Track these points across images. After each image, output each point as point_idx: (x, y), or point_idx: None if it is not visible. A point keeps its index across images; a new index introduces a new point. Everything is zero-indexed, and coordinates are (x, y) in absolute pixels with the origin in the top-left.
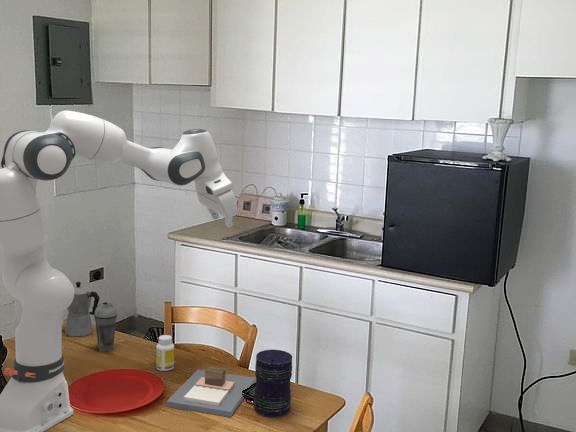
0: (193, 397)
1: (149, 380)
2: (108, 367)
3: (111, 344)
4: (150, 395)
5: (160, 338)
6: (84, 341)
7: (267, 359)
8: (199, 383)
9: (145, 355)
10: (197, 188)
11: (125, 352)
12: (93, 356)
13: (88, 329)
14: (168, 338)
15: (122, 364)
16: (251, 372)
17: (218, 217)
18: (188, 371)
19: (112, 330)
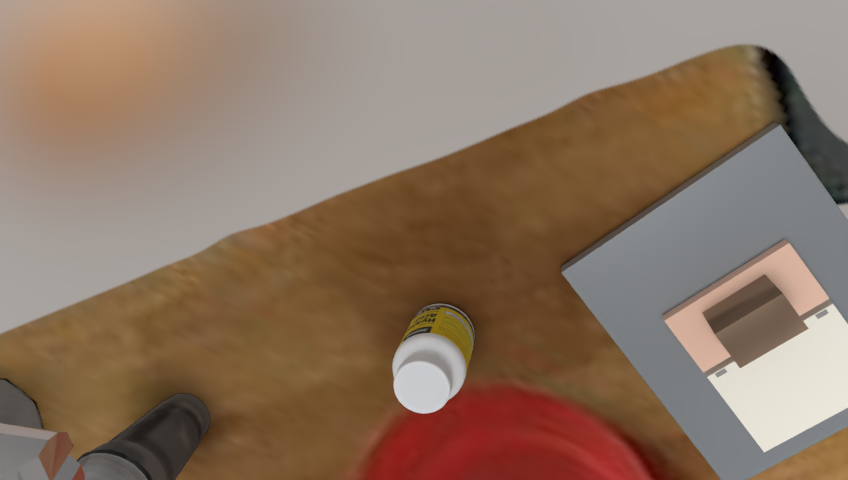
0: (791, 430)
1: (509, 425)
2: (340, 476)
3: (198, 420)
4: (617, 476)
5: (424, 411)
6: (91, 440)
7: None
8: (708, 357)
9: (303, 335)
10: None
11: (244, 377)
12: (230, 473)
13: (21, 414)
14: (441, 385)
15: (339, 432)
16: (678, 75)
17: (58, 448)
18: (519, 281)
19: (174, 448)
